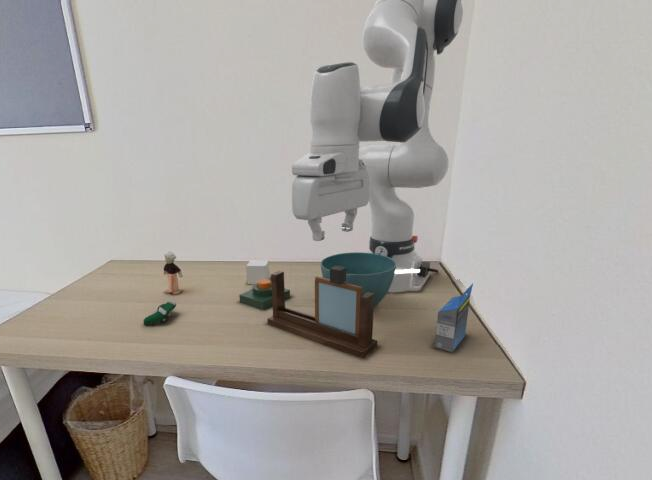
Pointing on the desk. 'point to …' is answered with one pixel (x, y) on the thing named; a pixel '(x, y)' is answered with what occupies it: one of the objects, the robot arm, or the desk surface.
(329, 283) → the window pane
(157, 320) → the green shoe
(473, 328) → the desk surface
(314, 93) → the robot arm
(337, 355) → the desk surface
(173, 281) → the grandmother figurine
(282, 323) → the window frame
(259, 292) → the green push button base
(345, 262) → the teal bowl
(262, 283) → the latch button
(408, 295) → the desk surface
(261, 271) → the white cube
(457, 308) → the blue cardboard box
